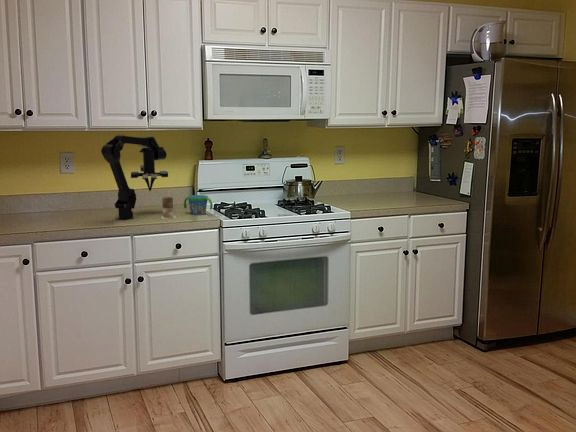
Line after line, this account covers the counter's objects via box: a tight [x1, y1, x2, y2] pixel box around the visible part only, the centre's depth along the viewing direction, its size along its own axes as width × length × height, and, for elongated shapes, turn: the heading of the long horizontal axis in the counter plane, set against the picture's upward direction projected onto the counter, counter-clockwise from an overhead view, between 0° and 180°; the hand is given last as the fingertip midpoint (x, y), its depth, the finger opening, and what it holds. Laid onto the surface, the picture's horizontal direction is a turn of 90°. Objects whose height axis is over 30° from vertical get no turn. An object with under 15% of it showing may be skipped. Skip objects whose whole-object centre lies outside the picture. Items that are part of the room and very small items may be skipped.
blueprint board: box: [160, 215, 177, 220], centre depth 313 cm, size 16×20×1 cm
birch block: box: [162, 207, 175, 219], centre depth 308 cm, size 5×5×5 cm
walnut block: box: [161, 196, 174, 209], centre depth 307 cm, size 5×5×5 cm
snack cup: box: [183, 194, 213, 216], centre depth 320 cm, size 16×10×10 cm
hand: (150, 190), depth 318 cm, fingers closed
